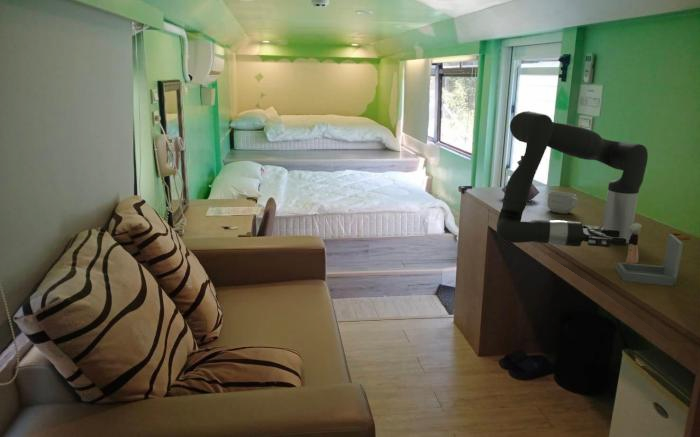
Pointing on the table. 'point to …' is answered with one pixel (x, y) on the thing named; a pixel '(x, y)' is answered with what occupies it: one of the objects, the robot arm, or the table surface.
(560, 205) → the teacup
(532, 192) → the flask
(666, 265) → the case
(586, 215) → the table surface
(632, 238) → the grandmother figurine
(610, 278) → the table surface
